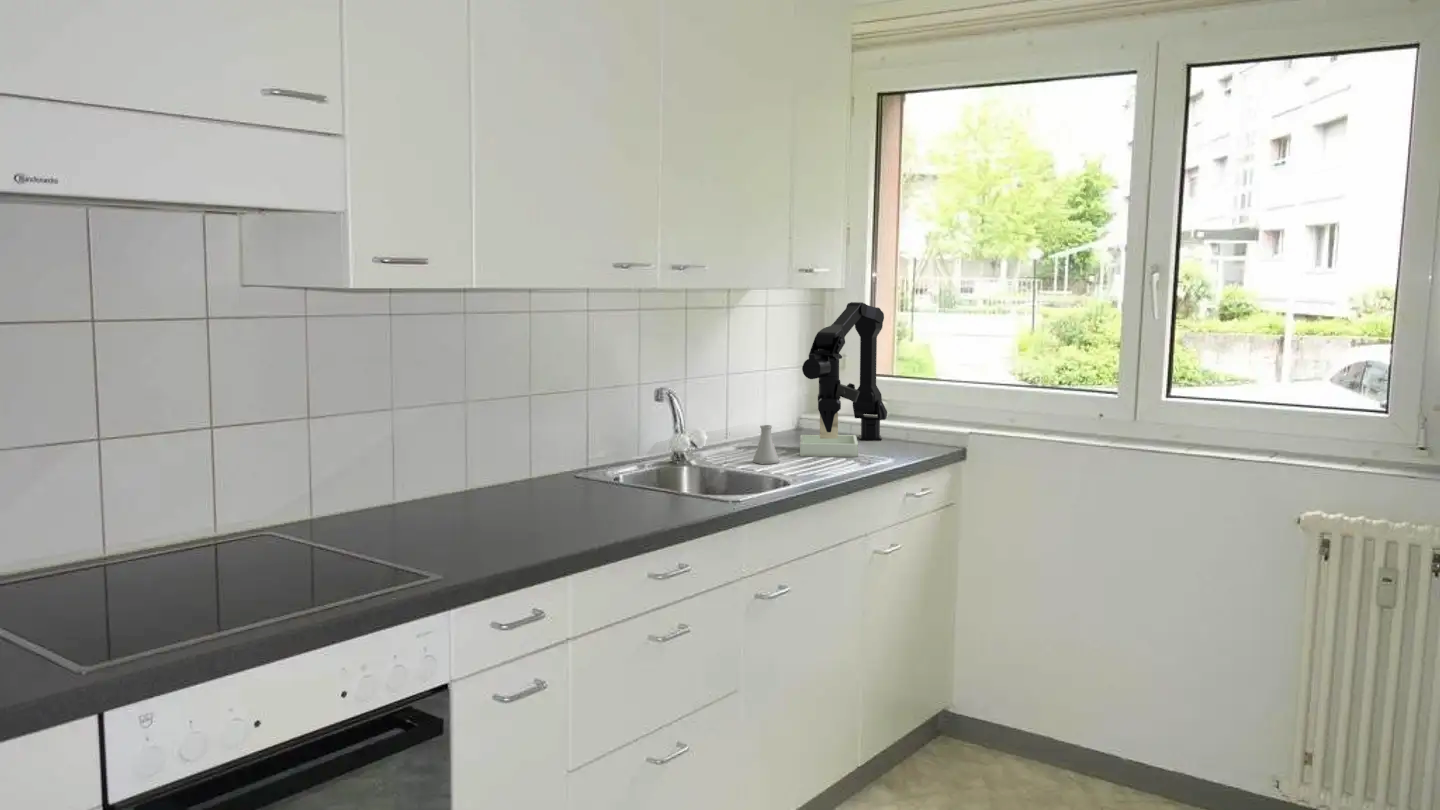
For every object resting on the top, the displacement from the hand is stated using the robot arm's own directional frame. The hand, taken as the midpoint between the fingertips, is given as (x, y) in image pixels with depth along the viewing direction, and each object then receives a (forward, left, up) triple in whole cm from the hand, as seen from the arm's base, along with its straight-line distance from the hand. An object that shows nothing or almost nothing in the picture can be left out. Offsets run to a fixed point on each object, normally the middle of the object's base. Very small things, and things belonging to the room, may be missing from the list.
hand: (828, 430), depth 318 cm
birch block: (0, 0, -2) cm, 2 cm away
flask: (+17, -17, -6) cm, 25 cm away
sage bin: (0, 0, -6) cm, 6 cm away
